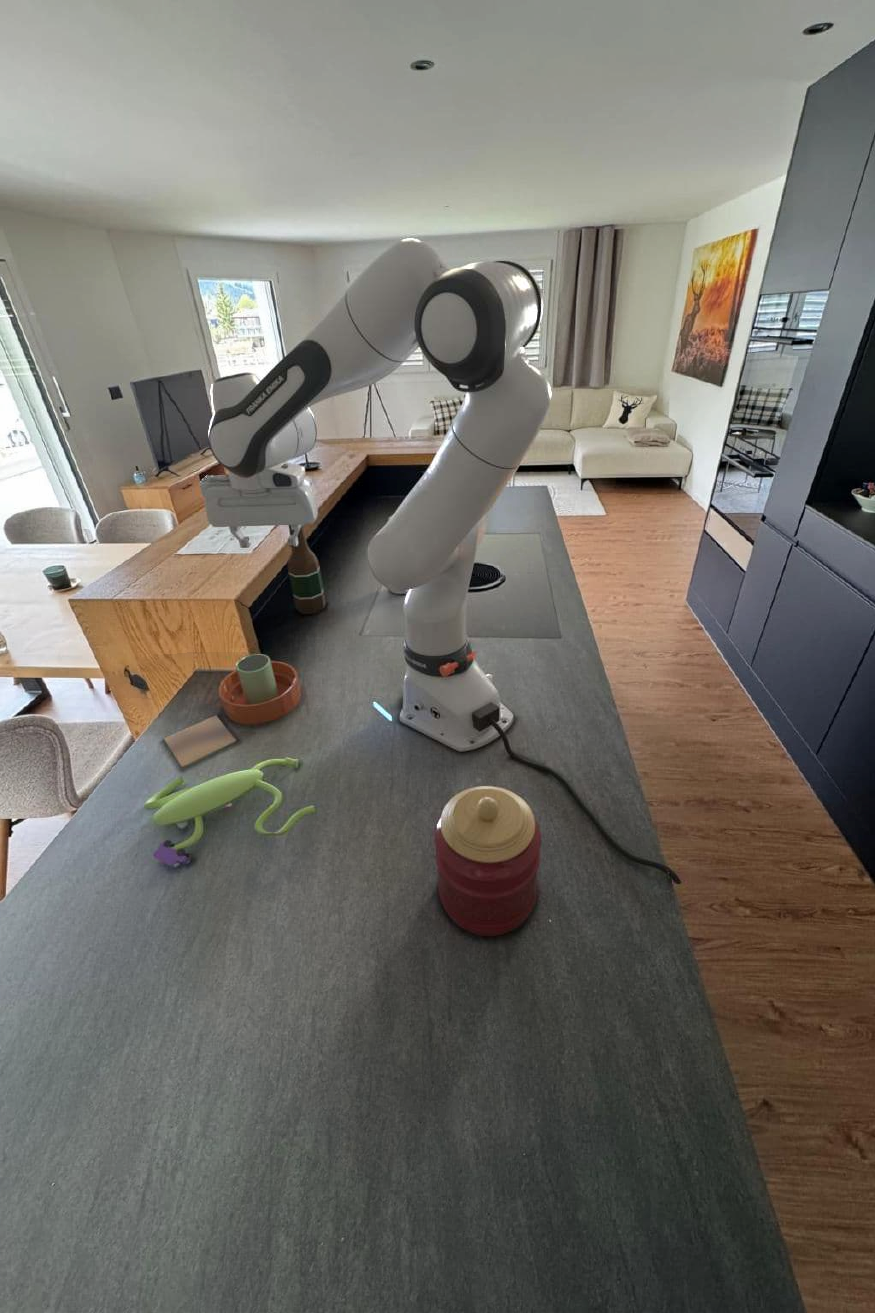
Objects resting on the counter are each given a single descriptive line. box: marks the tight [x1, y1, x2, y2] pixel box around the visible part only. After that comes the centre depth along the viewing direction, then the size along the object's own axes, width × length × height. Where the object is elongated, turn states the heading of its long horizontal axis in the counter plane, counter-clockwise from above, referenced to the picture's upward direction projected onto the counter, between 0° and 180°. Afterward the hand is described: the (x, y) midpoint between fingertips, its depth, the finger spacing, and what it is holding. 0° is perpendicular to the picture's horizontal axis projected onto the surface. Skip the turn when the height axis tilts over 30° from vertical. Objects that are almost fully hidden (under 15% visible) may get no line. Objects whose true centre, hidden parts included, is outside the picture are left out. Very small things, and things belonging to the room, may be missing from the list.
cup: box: [235, 653, 279, 705], centre depth 109 cm, size 6×6×9 cm
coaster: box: [163, 714, 237, 768], centre depth 102 cm, size 10×10×1 cm
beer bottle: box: [287, 525, 326, 615], centre depth 138 cm, size 8×8×24 cm
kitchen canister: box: [434, 785, 542, 937], centre depth 69 cm, size 13×13×18 cm
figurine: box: [144, 756, 316, 869], centre depth 86 cm, size 18×27×6 cm
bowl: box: [218, 660, 302, 726], centre depth 110 cm, size 15×15×5 cm
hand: (269, 546), depth 107 cm, fingers open, 8 cm apart
